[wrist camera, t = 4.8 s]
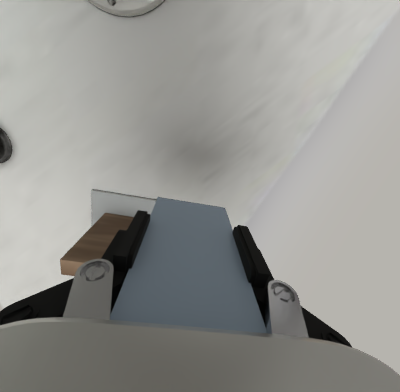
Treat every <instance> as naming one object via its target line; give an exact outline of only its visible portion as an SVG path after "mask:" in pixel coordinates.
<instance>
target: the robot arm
mask: <svg viewBox="0 0 400 392" xmlns="http://www.w3.org/2000/svg"><path fill="white" fill-rule="evenodd" d="M88 1H89V2H90V3H92V4H93V5H94V6H96V7H98V8H100V9H102V10H103V11H105V12H108V13H111V14H114V15H117V16H129V17H130V16H136V15H142V14H144V13H146V12H148V11H151V10H153V9H154V8H155V7H157V6H158V5H159V4H161V3H162V2H163V1H164V0H88ZM114 2H116V4H115V5H114V6H113V3H114ZM150 216H151V215H150V214H148V212H147V211H141V210H138V211H137V213H136V214H135V216H134V218H133V220H132V222H131V224H130V225H129V227H128V229H127V230H121V229H120V230H118V232H117V233H116V235H115V237H114V238H113V240H112V241H111V243H110V245H109V246H108V248H107V249H106V251H105V253H104V254H103V256H102V258H101V259H93V260H90V261H87V262H85V263H83V264H82V265H81V266H80V267H79V268H78V269H77V271H76V273H75V277H74V278H73V279H70V280H68V281H66V282H63V283H61V284H58V285H56V286H54V287H51V288H49V289H47V290H44V291H42V292H39V293H37V294H35V295H32V296H30V297H27V298H25V299H23V300H20V301H18V302H15V303H13V304H11V305H9V306H7V307H6V308H4V309H3V310H2V311H0V392H400V375H399V374H397V373H396V372H395V371H394V370H393V369H391V368H390V367H389V366H387V365H386V364H384V363H383V362H381V361H380V360H378V359H376V358H374V357H372V356H371V355H368V354H366V353H364V352H362V351H360V350H358V349H355V348H352V346H351V345H350V343H349V342H348V341H347V340H346V339H345V338H344V337H343V336H342V335H341V334H339V333H338V332H337V331H335V330H334V329H332V328H331V327H329V326H328V325H327V324H325V323H324V322H322V321H321V320H320V319H318V318H317V317H316V316H314V315H313V314H311V313H310V312H308V311H307V310H306V309H304V308H302V307H301V305H300V302H299V298H298V295H297V293H296V292H295V290H294V289H293V288H292V287H291V286H289V285H288V284H286V283H284V282H282V281H279V280H274V278H273V277H272V274H271V272H270V270H269V268H268V266H267V264H266V262H265V260H264V258H263V256H262V254H261V252H260V250H259V249H258V248H257V246H256V244H255V242H254V240H253V238H252V235H251V233H250V231H249V229H248V227H247V226H241V225H238V226H237V227H234V229H233V233H232V234H233V237H234V240H235V243H236V246H237V249H238V252H239V255H240V258H241V261H242V265H243V268H244V271H245V274H246V277H247V280H248V283H251V286H252V289H253V292H254V295H255V298H256V301H257V304H258V306H259V309H260V312H261V315H262V318H263V321H264V324H265V327H266V333H257V332H247V331H236V330H225V329H214V328H203V327H192V326H180V325H169V324H157V323H145V322H132V321H120V320H110V316H111V313H112V310H113V308H114V305H115V303H116V300H117V298H118V295H119V293H120V290H121V288H122V285H123V283H124V280H125V278H126V275H127V273H128V270H129V269H132V267H133V264H134V261H135V259H136V256H137V254H138V251H139V249H140V246H141V243H142V241H143V238H144V236H145V233H146V230H147V228H148V225H149V223H150Z"/></svg>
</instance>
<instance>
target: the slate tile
mask: <svg viewBox="0 0 400 392" xmlns="http://www.w3.org/2000/svg"><path fill="white" fill-rule="evenodd" d="M232 233H233V230H232V227H231V224H230V221H229V218H228V215H227V212H226V209H225V208H223V207H217V206H210V205H204V204H198V203H192V202H186V201H179V200H173V199H167V198H161V197H158V198H157V201H156V203H155V206H154V208H153V211H152V213H151V216H150V223H149V225H148V228H147V230H146V233H145V236H144V238H143V241H142V243H141V246H140V249H139V251H138V254H137V256H136V259H135V261H134V264H133V267H132V269H129V270H128V273H127V275H126V278H125V280H124V283H123V285H122V288H121V290H120V293H119V295H118V298H117V300H116V303H115V305H114V308H113V310H112V313H111V316H110V320H120V321H132V322H145V323H157V324H169V325H180V326H192V327H203V328H214V329H225V330H236V331H247V332H257V333H266V327H265V324H264V321H263V318H262V315H261V312H260V309H259V306H258V304H257V301H256V298H255V295H254V292H253V289H252V286H251V283H248V280H247V277H246V274H245V271H244V268H243V265H242V261H241V258H240V255H239V252H238V249H237V246H236V243H235V240H234V237H233V234H232Z"/></svg>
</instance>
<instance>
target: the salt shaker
mask: <svg viewBox="0 0 400 392" xmlns="http://www.w3.org/2000/svg"><path fill="white" fill-rule="evenodd" d="M11 154H12V145H11V142H10V139H9V138H8V136H7V134H6V133H5V132H4V131H3V130H2V129H1V128H0V163H3V162H5V161H7V160H8V159H9V158H10V156H11Z"/></svg>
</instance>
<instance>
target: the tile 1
mask: <svg viewBox="0 0 400 392" xmlns="http://www.w3.org/2000/svg"><path fill="white" fill-rule="evenodd" d="M133 218H134V217H130V216H124V215H117V214H111V213H104V214H103V215H102V217H101V218H100V219H99V220H98V221H97V222H96V223H95V224H94V225H93V226H92V227H91V228H90V229H89V230H88V231H87V232H86V233H85V234H84V235H83V236H82V237H81V238H80V240H79V241H78V242H77V243H76V244H75V245H74V246H73V247H72V248H71V249H70V250H69V251H68V252H67V253H66V254H65V255H64V256H63V257H62V258H61V259H60V264H61V274H63V275H71V276H75V273H76V271H77V269H78V268H79V267H80V266H81V265H82V264H83V263H85V262H87V261H90V260H93V259H101V258H102V256H103V254H104V253H105V251H106V249H107V248H108V246H109V245H110V243H111V241H112V240H113V238H114V237H115V235H116V233H117V232H118V230H120V229H121V230H127V229H128V227H129V225H130V224H131V222H132V220H133Z"/></svg>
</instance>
